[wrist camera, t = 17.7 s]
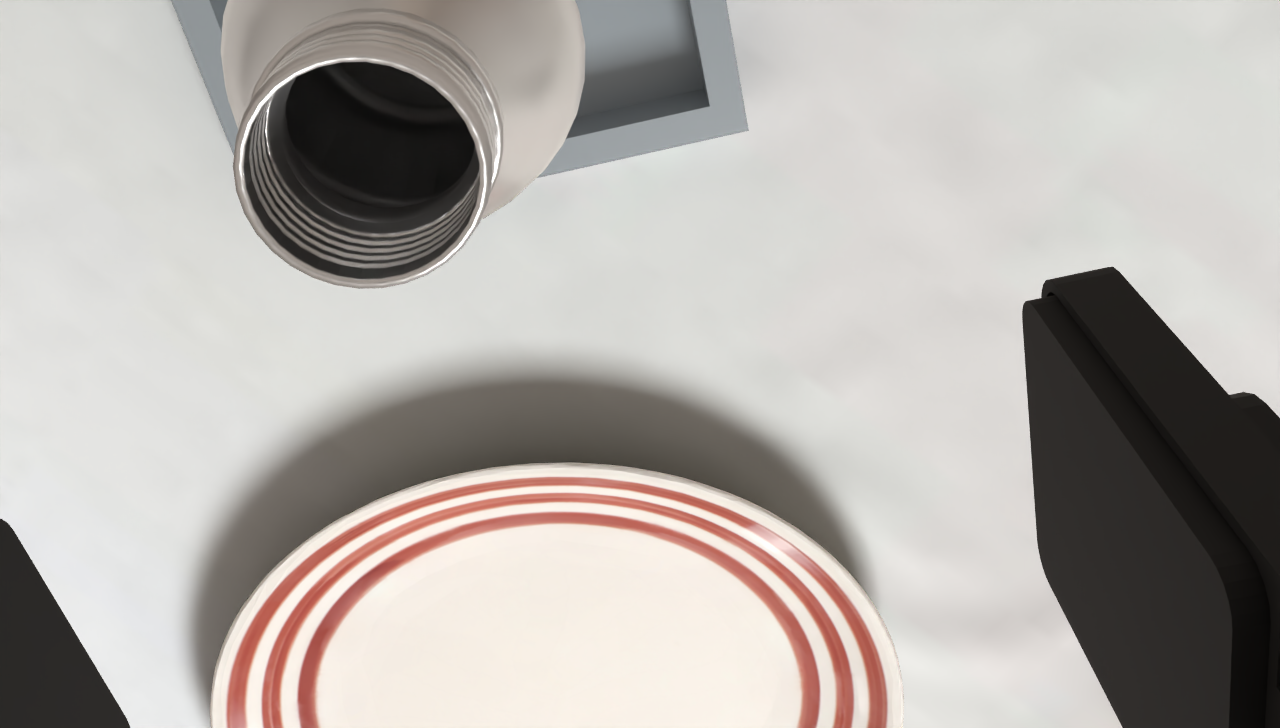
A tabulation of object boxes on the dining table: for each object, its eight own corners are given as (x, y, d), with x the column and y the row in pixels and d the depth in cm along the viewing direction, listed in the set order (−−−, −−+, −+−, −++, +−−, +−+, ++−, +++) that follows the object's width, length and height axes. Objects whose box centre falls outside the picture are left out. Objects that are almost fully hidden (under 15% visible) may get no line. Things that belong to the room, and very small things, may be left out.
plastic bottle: (289, -98, 34) (17, 154, 17) (470, -267, 32) (373, -177, 15) (446, 77, 37) (350, 449, 20) (621, -69, 35) (685, 199, 18)
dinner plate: (483, 974, 61) (480, 1039, 58) (78, 630, 48) (48, 692, 45) (987, 744, 55) (1012, 804, 52) (674, 285, 42) (683, 331, 39)
